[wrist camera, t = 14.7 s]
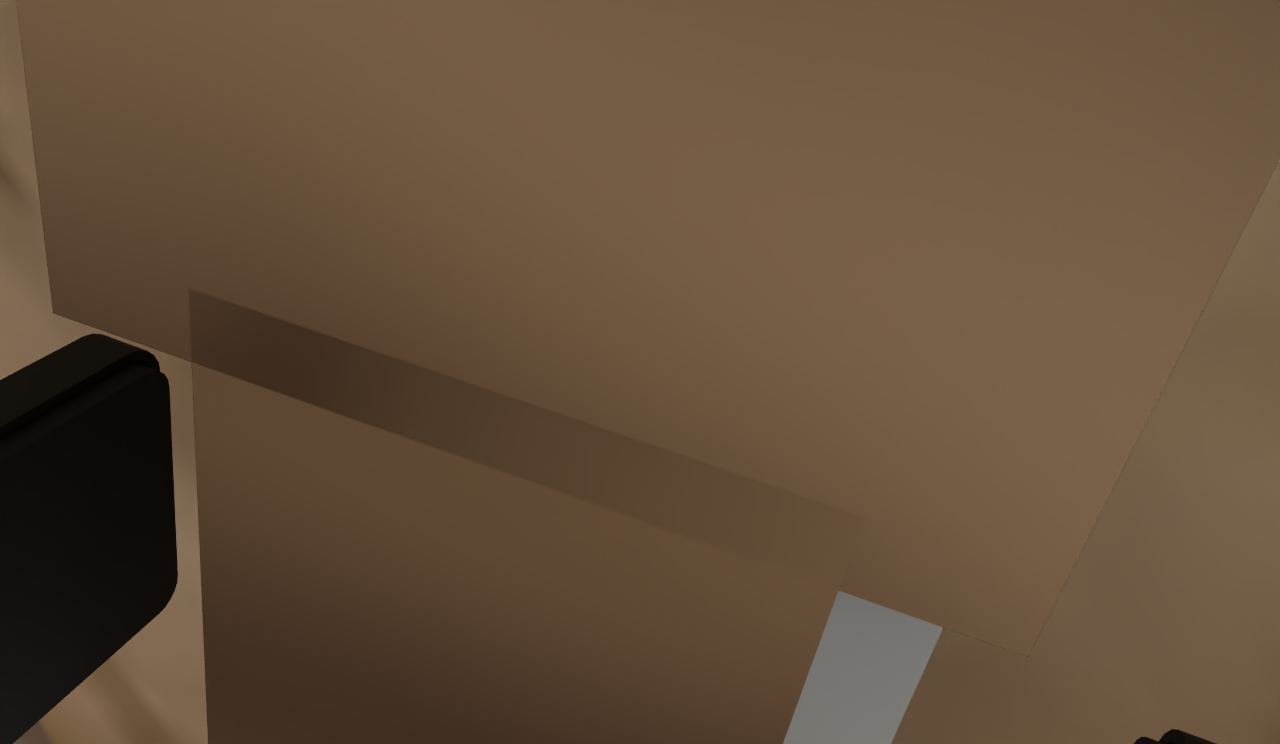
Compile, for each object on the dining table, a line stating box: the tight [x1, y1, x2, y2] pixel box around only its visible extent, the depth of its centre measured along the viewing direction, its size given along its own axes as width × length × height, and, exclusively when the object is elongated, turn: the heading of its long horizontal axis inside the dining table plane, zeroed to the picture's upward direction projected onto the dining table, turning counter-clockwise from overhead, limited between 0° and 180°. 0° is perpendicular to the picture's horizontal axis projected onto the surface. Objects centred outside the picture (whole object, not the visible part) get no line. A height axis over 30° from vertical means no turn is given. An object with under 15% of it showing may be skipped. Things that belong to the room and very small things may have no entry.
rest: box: [783, 591, 943, 744], centre depth 11 cm, size 17×7×1 cm, turn 170°
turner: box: [16, 0, 1280, 744], centre depth 8 cm, size 16×6×5 cm, turn 170°
